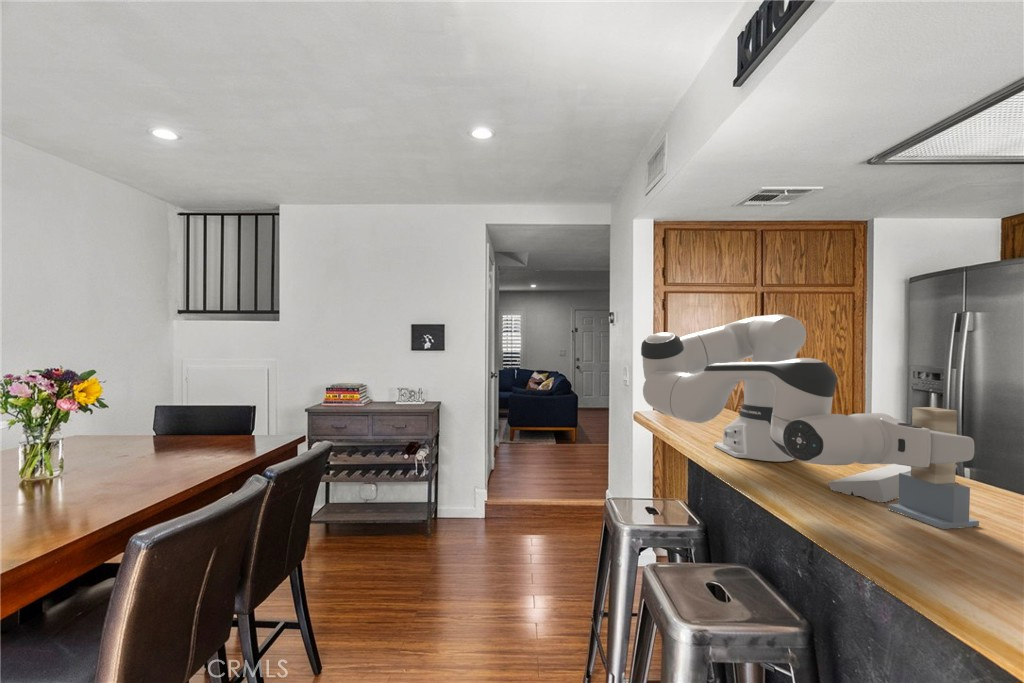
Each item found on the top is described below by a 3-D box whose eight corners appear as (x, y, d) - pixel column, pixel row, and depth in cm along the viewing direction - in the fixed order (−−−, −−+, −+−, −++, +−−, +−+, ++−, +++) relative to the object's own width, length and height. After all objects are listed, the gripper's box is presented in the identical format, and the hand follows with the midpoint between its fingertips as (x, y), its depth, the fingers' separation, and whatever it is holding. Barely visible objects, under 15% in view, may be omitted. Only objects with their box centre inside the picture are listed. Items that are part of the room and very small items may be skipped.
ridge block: (888, 509, 98) (889, 473, 98) (922, 507, 100) (923, 471, 100) (942, 529, 88) (943, 488, 88) (979, 526, 90) (980, 486, 90)
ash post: (910, 477, 96) (912, 407, 95) (930, 476, 96) (931, 407, 96) (935, 483, 91) (937, 411, 91) (955, 482, 92) (957, 410, 92)
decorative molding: (833, 504, 110) (885, 505, 102) (827, 482, 111) (878, 480, 103) (902, 482, 128) (950, 481, 120) (896, 463, 129) (944, 460, 121)
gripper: (827, 443, 101) (885, 441, 104) (932, 470, 81) (999, 467, 84) (828, 411, 101) (885, 410, 104) (933, 431, 81) (1001, 429, 84)
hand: (937, 436), depth 94 cm, fingers open, 8 cm apart
